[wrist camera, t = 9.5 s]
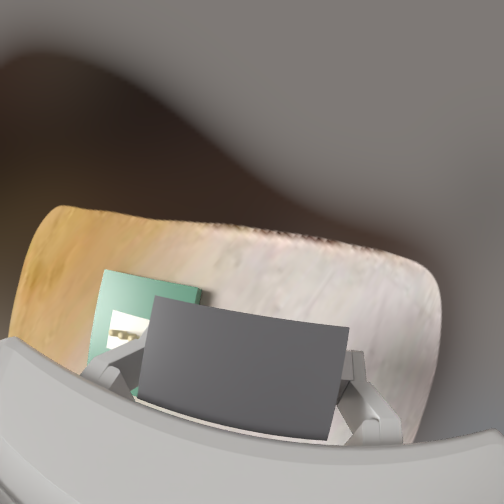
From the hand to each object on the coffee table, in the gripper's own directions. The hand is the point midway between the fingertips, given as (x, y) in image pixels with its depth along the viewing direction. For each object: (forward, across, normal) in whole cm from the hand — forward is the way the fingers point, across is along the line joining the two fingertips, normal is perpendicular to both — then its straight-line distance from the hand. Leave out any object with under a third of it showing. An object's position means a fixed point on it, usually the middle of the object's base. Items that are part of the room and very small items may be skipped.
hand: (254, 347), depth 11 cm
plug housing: (+3, 0, +4) cm, 5 cm away
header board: (+9, +14, +13) cm, 21 cm away
